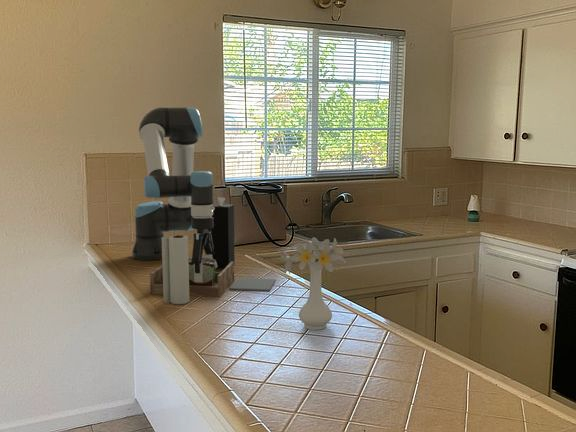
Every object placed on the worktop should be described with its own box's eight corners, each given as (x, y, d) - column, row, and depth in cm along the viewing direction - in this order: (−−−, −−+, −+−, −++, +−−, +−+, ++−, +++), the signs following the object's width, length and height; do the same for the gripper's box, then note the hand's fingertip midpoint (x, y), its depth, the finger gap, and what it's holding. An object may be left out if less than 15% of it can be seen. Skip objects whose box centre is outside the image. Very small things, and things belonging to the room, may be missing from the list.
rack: (170, 278, 224) (169, 259, 223) (234, 280, 221) (233, 261, 220) (150, 293, 203) (150, 273, 202) (220, 296, 200) (220, 275, 199)
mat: (237, 279, 222) (237, 277, 222) (275, 280, 220) (275, 279, 220) (229, 289, 208) (229, 288, 208) (269, 291, 207) (269, 289, 207)
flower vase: (274, 325, 172) (273, 238, 168) (330, 316, 180) (331, 233, 176) (294, 339, 160) (295, 246, 157) (354, 329, 168) (355, 240, 165)
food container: (223, 286, 213) (223, 258, 211) (216, 291, 207) (215, 262, 205) (192, 283, 217) (191, 256, 215) (183, 288, 211) (183, 259, 209)
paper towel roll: (193, 300, 196) (191, 235, 192) (182, 305, 190) (180, 238, 187) (174, 298, 199) (172, 233, 195) (163, 303, 193) (161, 236, 190)
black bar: (229, 270, 237) (227, 198, 232) (209, 269, 238) (208, 198, 234) (234, 265, 244) (233, 196, 240) (216, 264, 246) (214, 195, 241)
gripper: (203, 222, 195) (204, 286, 198) (221, 211, 220) (222, 269, 223) (180, 222, 196) (182, 286, 199) (201, 211, 221) (202, 268, 224)
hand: (203, 277), depth 211 cm, fingers open, 13 cm apart
